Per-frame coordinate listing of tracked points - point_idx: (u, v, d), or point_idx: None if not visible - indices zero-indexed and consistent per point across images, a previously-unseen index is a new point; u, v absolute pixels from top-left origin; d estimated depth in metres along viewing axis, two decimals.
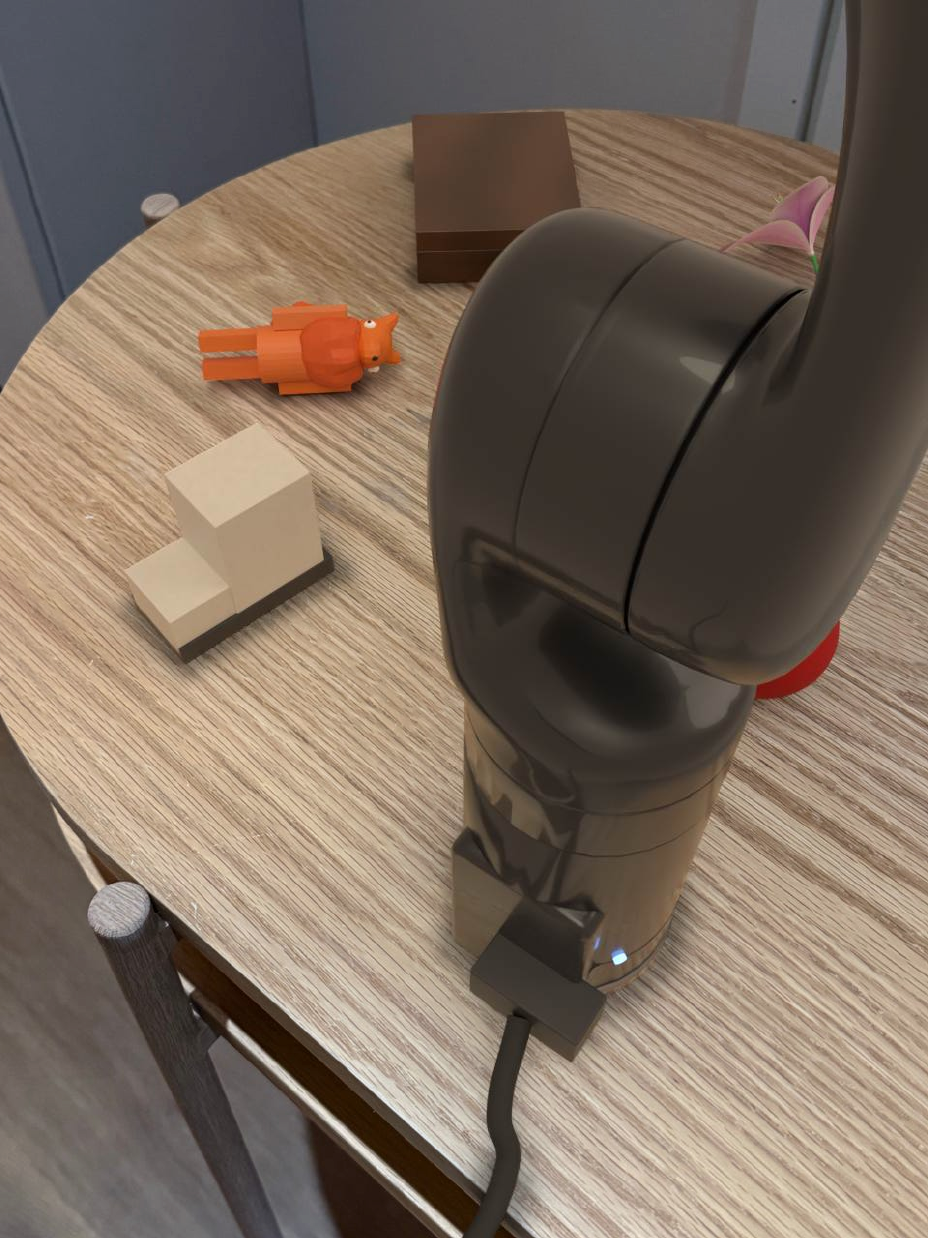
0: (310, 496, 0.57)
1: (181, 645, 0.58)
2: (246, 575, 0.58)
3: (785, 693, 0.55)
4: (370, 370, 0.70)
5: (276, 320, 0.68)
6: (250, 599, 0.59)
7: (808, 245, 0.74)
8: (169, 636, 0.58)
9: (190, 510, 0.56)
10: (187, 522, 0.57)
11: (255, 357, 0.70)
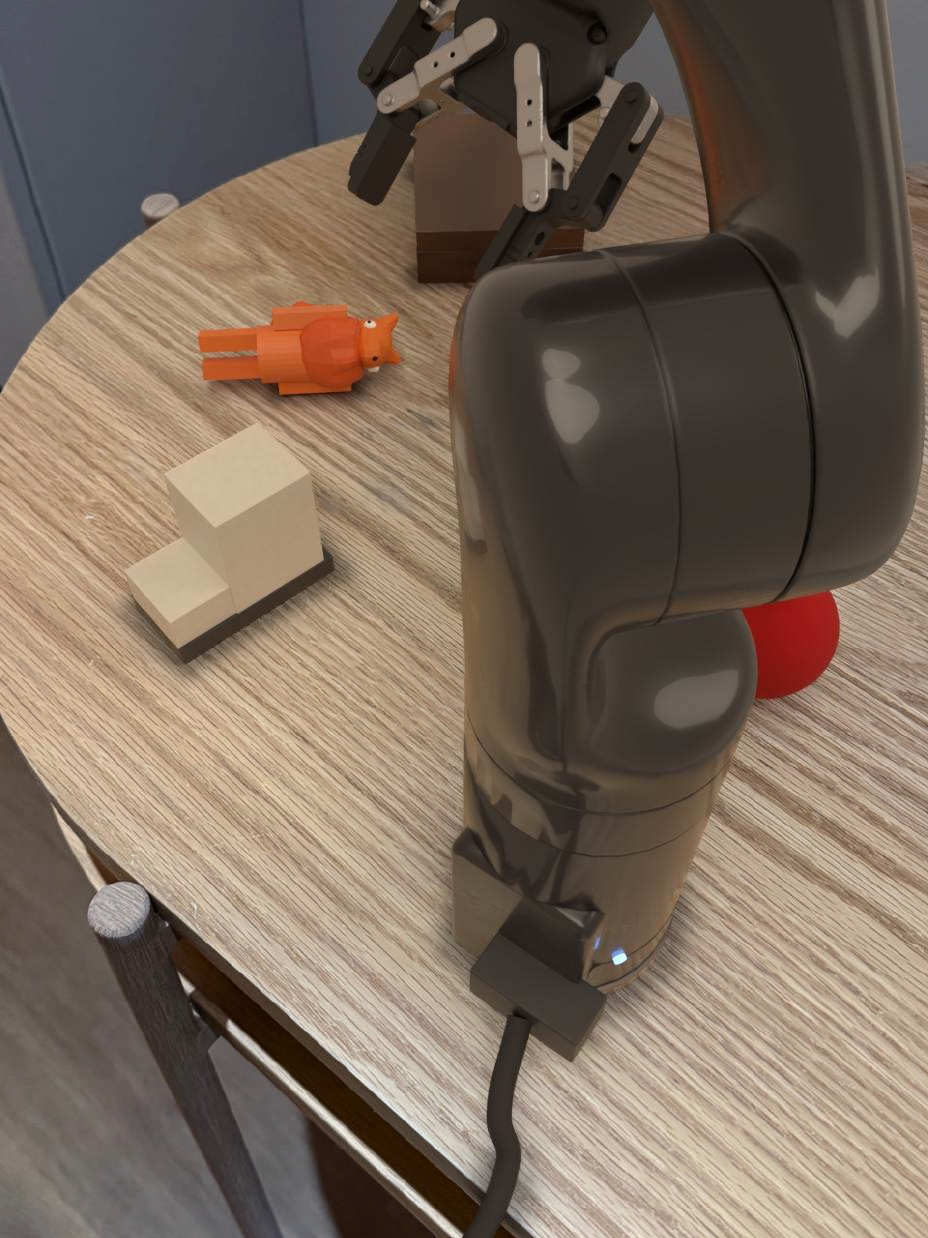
0: (310, 496, 0.57)
1: (181, 645, 0.58)
2: (246, 575, 0.58)
3: (785, 693, 0.55)
4: (370, 370, 0.70)
5: (276, 320, 0.68)
6: (250, 599, 0.59)
7: None
8: (169, 636, 0.58)
9: (190, 510, 0.56)
10: (187, 522, 0.57)
11: (255, 357, 0.70)
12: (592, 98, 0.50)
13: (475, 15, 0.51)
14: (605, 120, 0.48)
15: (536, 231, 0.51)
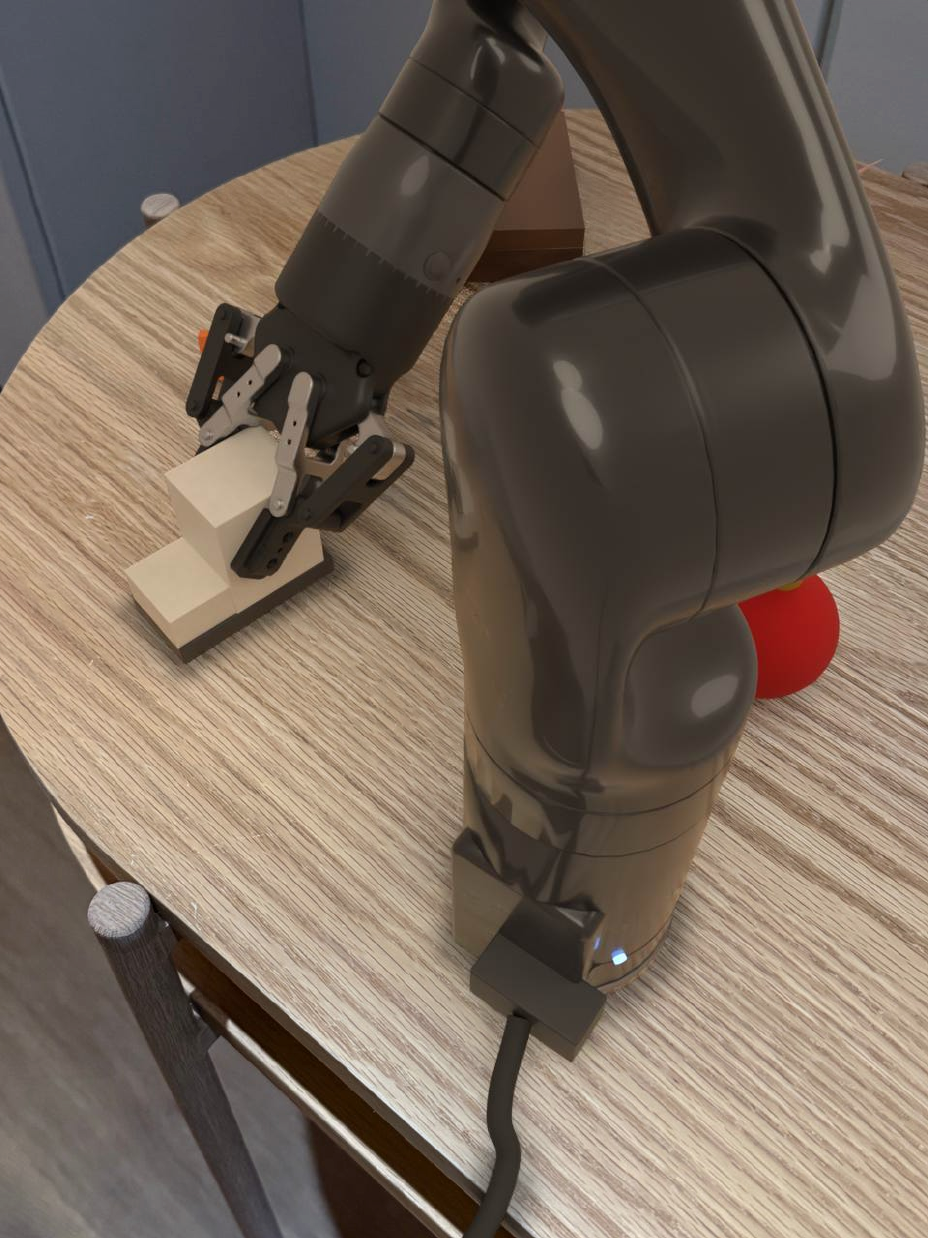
0: None
1: (181, 645, 0.58)
2: None
3: (785, 693, 0.55)
4: None
5: None
6: (250, 599, 0.59)
7: None
8: (169, 636, 0.58)
9: (190, 510, 0.56)
10: (187, 522, 0.57)
11: None
12: None
13: (271, 335, 0.56)
14: (350, 457, 0.53)
15: (282, 532, 0.55)
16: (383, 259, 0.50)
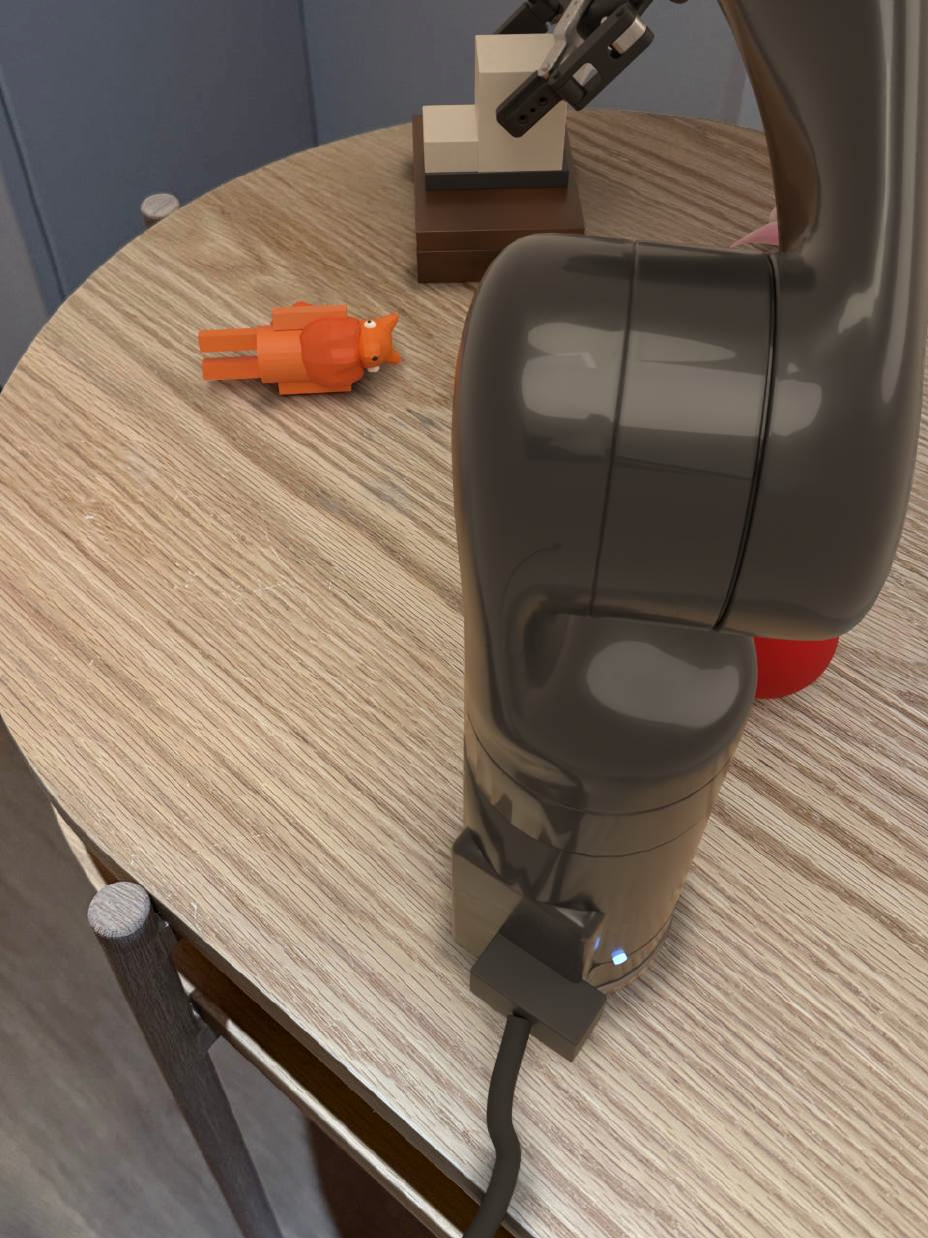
0: None
1: (427, 170, 0.76)
2: (493, 138, 0.74)
3: (785, 693, 0.55)
4: (370, 370, 0.70)
5: (276, 320, 0.68)
6: (491, 165, 0.76)
7: None
8: None
9: None
10: None
11: (255, 357, 0.70)
12: None
13: None
14: (600, 25, 0.65)
15: (538, 92, 0.69)
16: None
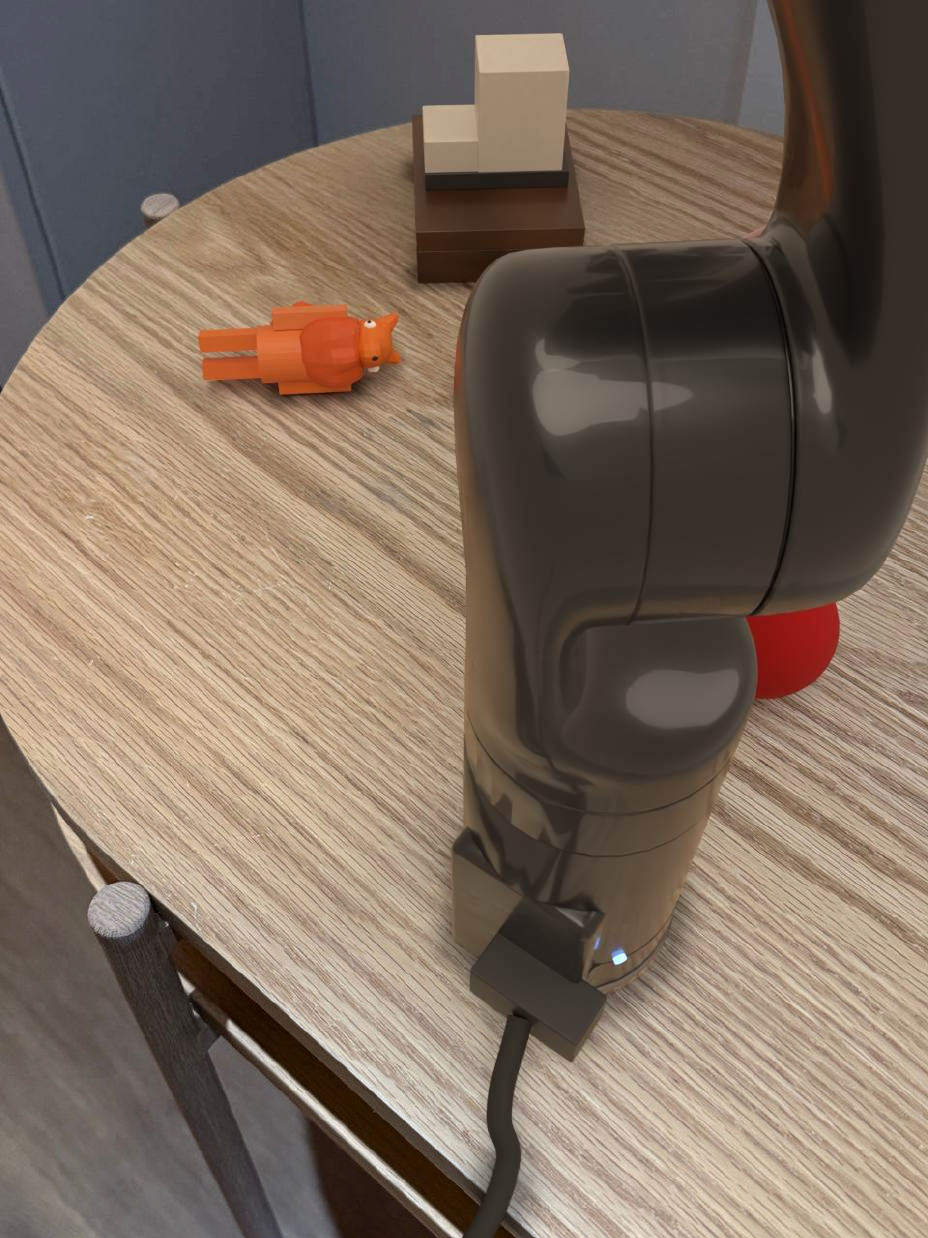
0: (563, 95, 0.72)
1: (427, 170, 0.76)
2: (493, 138, 0.74)
3: (785, 693, 0.55)
4: (370, 370, 0.70)
5: (276, 320, 0.68)
6: (491, 165, 0.76)
7: None
8: None
9: None
10: None
11: (255, 357, 0.70)
12: None
13: None
14: None
15: None
16: None
